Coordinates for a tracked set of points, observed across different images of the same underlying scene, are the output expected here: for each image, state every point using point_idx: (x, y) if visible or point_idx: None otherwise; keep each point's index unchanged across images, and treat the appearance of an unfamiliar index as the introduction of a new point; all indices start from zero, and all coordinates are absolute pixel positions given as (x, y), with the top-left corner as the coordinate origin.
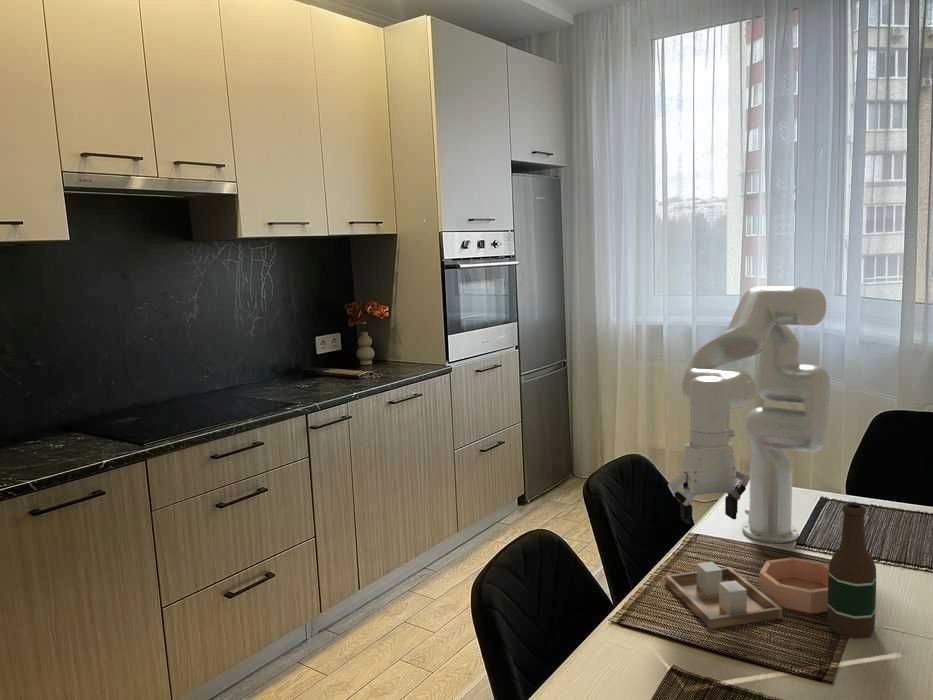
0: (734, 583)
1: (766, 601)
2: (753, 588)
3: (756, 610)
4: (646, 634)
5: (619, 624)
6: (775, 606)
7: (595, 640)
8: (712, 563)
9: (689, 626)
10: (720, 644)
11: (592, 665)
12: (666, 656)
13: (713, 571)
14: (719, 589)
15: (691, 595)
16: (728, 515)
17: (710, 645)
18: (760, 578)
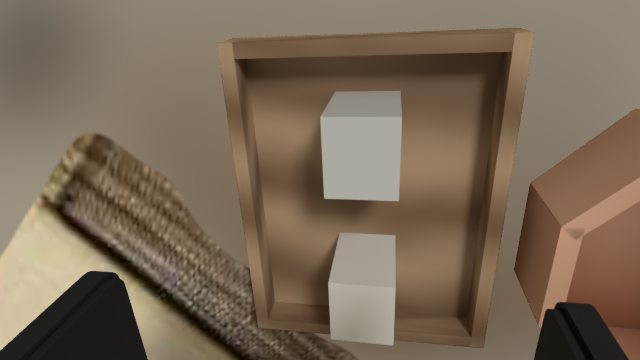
0: (378, 302)
1: (475, 294)
2: (489, 230)
3: (403, 332)
4: (119, 270)
5: (61, 216)
6: (472, 334)
7: (8, 258)
8: (392, 135)
9: (227, 272)
10: (268, 346)
11: (7, 324)
12: (145, 343)
13: (358, 197)
14: (331, 270)
15: (288, 148)
16: (540, 356)
17: (245, 342)
18: (551, 218)
